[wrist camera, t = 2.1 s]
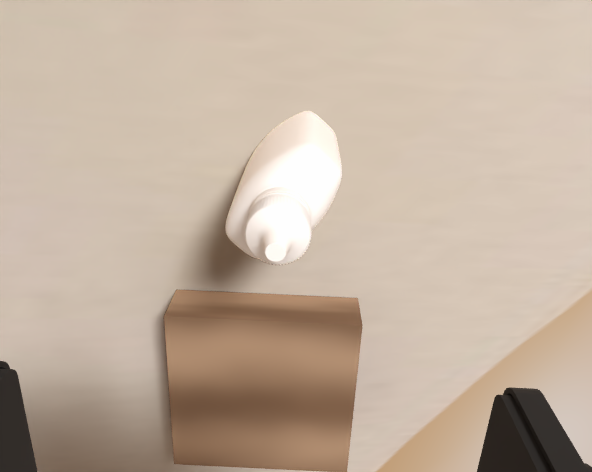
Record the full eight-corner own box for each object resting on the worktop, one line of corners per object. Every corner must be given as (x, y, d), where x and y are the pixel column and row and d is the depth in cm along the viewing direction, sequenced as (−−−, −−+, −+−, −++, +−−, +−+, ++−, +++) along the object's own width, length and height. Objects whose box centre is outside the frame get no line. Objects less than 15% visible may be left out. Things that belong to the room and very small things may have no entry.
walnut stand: (176, 289, 32) (163, 316, 29) (357, 298, 32) (362, 325, 29) (184, 429, 37) (174, 464, 34) (344, 437, 37) (346, 472, 34)
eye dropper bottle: (349, 179, 29) (374, 284, 18) (253, 208, 30) (221, 327, 19) (326, 102, 28) (337, 167, 17) (225, 135, 28) (172, 219, 17)
